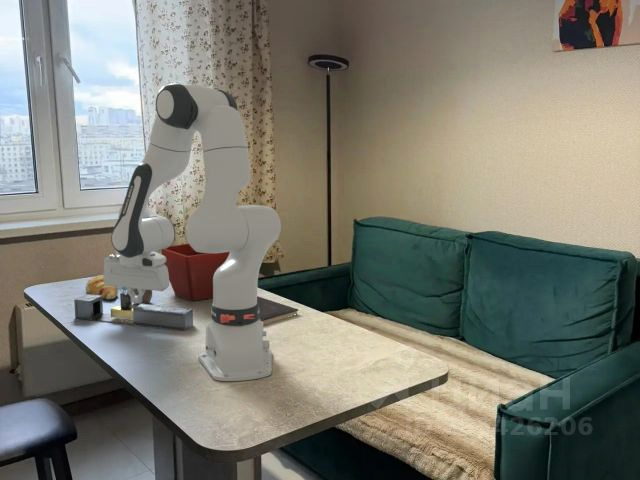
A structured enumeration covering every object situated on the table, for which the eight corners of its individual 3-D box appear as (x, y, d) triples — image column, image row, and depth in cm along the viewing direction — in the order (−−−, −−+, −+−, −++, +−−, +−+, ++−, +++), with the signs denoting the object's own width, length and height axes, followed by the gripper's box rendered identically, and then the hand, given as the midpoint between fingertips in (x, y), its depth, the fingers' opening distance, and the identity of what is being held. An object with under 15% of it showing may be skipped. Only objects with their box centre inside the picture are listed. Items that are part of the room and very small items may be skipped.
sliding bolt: (182, 321, 172) (181, 297, 171) (176, 324, 169) (176, 300, 168) (116, 314, 177) (115, 290, 176) (110, 317, 174) (109, 293, 173)
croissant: (122, 309, 196) (132, 288, 197) (95, 301, 190) (105, 278, 191) (98, 294, 212) (108, 274, 213) (73, 285, 205) (82, 265, 206)
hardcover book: (251, 300, 200) (251, 294, 200) (298, 316, 185) (298, 309, 185) (214, 310, 189) (214, 303, 188) (260, 327, 174) (260, 320, 173)
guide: (193, 324, 173) (193, 305, 172) (184, 331, 167) (184, 311, 166) (87, 312, 182) (86, 294, 180) (75, 318, 176) (74, 299, 175)
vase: (146, 307, 188) (145, 281, 187) (126, 305, 190) (125, 279, 188) (156, 301, 195) (155, 276, 193) (137, 299, 196) (136, 274, 195)
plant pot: (160, 293, 205) (159, 246, 201) (207, 284, 217) (207, 240, 214) (188, 306, 191) (187, 256, 188) (236, 296, 203) (236, 249, 200)
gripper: (97, 256, 170) (99, 301, 173) (160, 262, 165) (161, 308, 168) (110, 252, 176) (112, 296, 179) (171, 257, 171) (172, 302, 174)
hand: (136, 302), depth 173 cm, fingers closed
